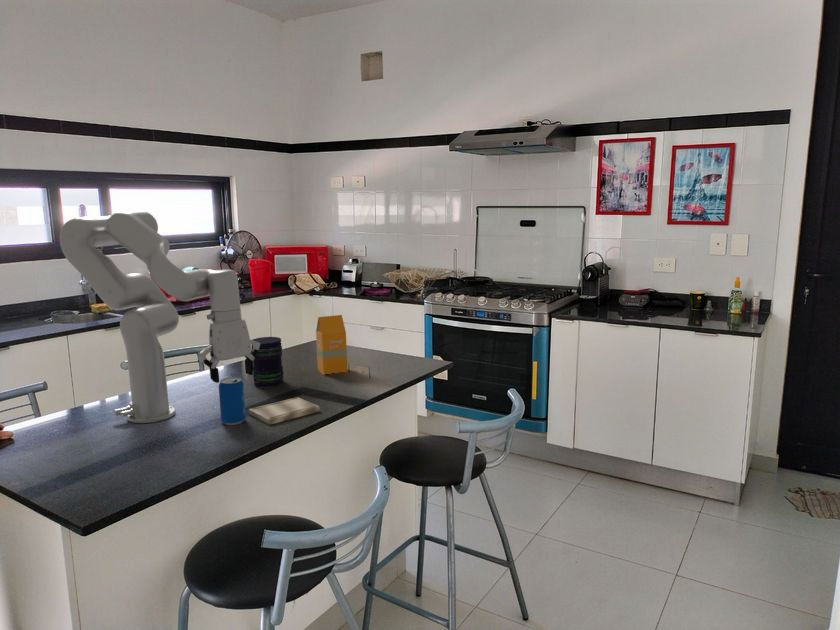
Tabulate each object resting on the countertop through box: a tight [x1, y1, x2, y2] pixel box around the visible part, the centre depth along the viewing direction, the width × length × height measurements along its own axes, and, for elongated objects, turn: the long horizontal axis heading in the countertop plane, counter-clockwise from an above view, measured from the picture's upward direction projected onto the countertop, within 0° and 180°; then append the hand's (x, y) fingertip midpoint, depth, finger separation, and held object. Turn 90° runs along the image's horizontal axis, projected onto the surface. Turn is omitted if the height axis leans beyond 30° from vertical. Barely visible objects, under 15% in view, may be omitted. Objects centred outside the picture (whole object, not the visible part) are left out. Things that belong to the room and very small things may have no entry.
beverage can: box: [218, 376, 247, 426], centre depth 171 cm, size 6×6×12 cm
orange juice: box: [315, 314, 348, 376], centre depth 220 cm, size 8×9×20 cm
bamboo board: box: [248, 396, 320, 426], centre depth 179 cm, size 16×12×2 cm
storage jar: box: [251, 336, 284, 388], centre depth 207 cm, size 10×10×15 cm
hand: (232, 377), depth 170 cm, fingers open, 9 cm apart
